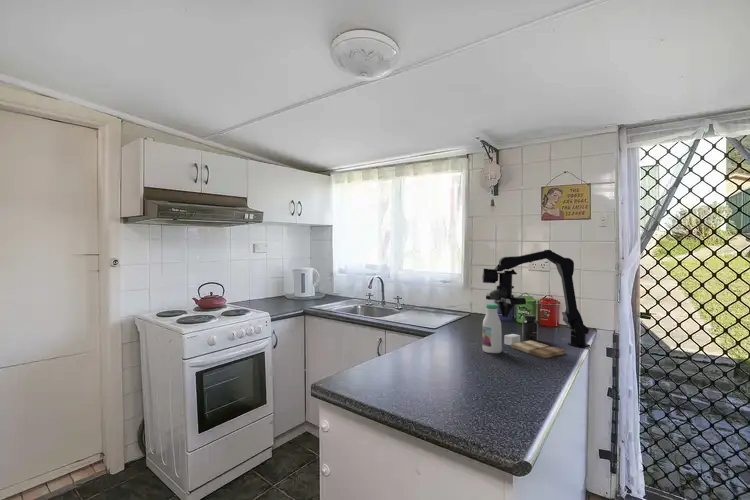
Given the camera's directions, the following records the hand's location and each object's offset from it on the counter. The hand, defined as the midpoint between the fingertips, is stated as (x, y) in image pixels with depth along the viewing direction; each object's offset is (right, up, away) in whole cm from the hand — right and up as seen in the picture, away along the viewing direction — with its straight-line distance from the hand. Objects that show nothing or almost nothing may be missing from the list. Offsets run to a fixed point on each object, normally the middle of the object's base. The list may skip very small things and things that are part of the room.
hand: (504, 317), depth 165 cm
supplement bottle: (+13, -12, +2) cm, 18 cm away
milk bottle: (-11, -12, -15) cm, 22 cm away
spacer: (+2, -12, -3) cm, 13 cm away
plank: (+7, -12, -11) cm, 17 cm away
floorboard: (+11, -12, -19) cm, 25 cm away
